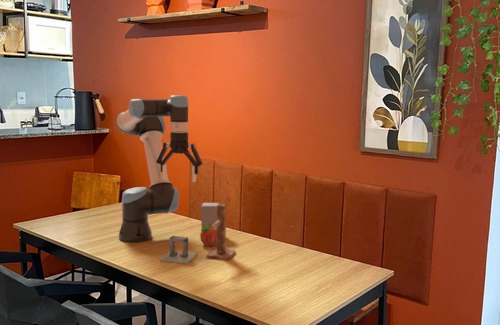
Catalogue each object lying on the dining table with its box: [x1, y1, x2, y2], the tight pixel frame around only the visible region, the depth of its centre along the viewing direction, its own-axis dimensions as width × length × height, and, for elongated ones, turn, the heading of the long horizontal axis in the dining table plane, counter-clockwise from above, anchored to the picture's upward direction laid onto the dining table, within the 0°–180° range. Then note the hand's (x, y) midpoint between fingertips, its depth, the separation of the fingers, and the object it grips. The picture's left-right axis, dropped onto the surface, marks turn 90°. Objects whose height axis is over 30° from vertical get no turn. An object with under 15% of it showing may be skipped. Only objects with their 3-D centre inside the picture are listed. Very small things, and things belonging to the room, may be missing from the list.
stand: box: [205, 203, 236, 261], centre depth 211 cm, size 10×18×22 cm, turn 167°
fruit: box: [199, 224, 217, 247], centre depth 229 cm, size 9×10×10 cm
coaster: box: [159, 250, 198, 265], centre depth 212 cm, size 12×12×1 cm
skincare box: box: [200, 202, 220, 229], centre depth 243 cm, size 8×7×16 cm
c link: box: [169, 235, 189, 258], centre depth 211 cm, size 7×3×8 cm, turn 77°
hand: (179, 180), depth 219 cm, fingers open, 13 cm apart
